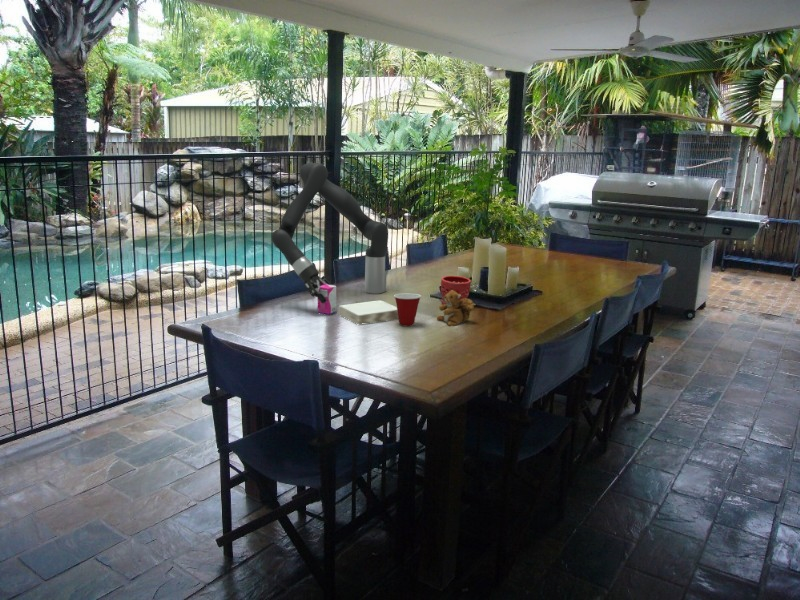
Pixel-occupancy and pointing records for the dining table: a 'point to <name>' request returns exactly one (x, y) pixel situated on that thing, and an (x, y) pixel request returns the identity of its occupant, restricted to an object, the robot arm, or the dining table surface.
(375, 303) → the slab
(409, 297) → the plastic cup
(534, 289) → the dining table surface
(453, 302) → the stuffed squirrel
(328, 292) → the supplement box
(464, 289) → the plant pot
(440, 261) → the dining table surface
